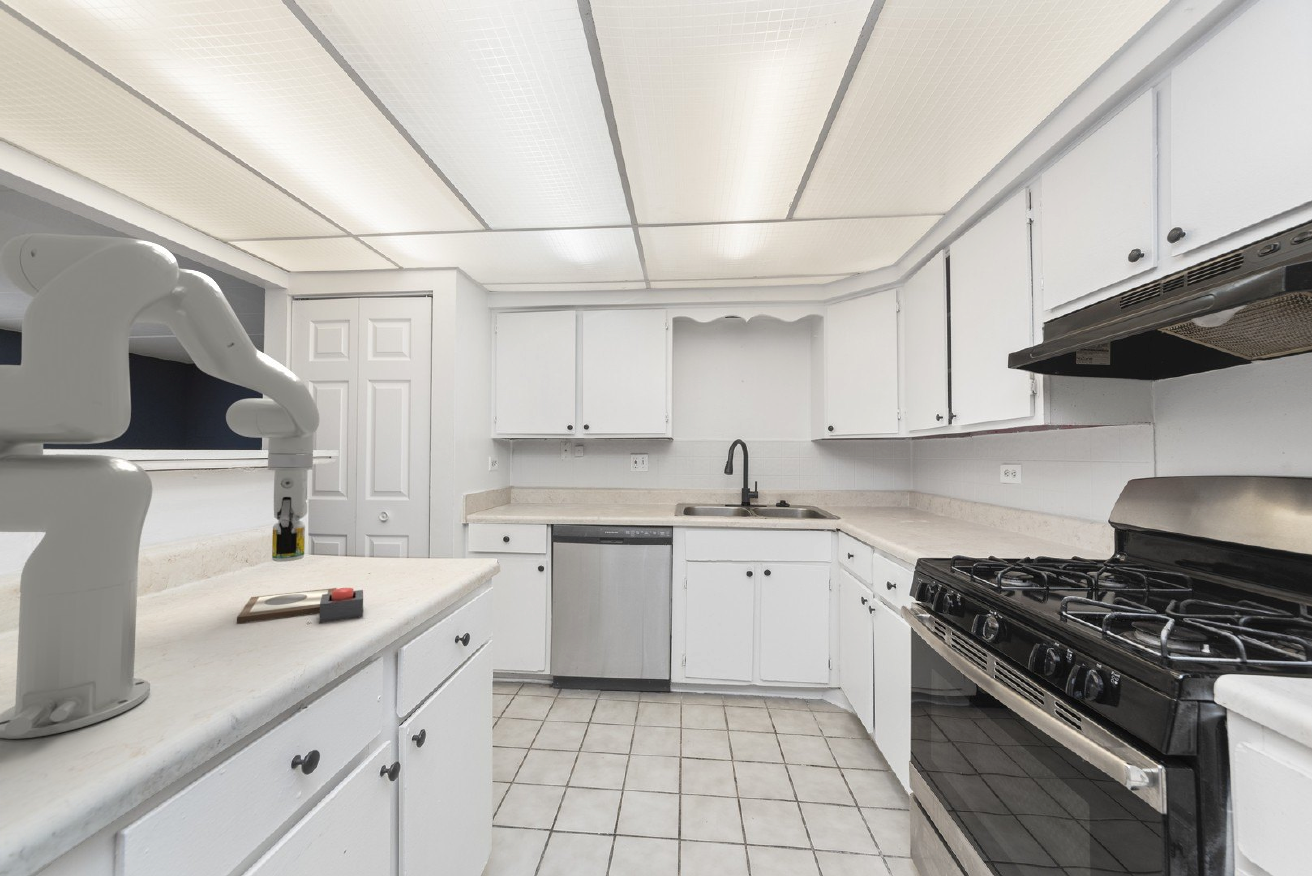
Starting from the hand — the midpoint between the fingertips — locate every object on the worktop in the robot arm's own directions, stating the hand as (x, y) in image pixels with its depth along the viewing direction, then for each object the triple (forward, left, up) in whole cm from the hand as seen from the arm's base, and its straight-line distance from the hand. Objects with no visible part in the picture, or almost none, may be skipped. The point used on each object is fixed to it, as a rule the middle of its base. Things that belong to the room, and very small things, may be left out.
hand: (288, 549), depth 102 cm
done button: (-11, -10, -9) cm, 18 cm away
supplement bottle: (0, 0, -2) cm, 2 cm away
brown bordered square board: (-1, -1, -12) cm, 12 cm away
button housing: (-11, -10, -12) cm, 19 cm away
